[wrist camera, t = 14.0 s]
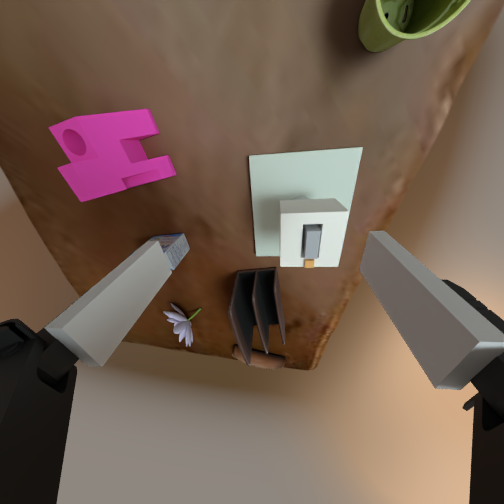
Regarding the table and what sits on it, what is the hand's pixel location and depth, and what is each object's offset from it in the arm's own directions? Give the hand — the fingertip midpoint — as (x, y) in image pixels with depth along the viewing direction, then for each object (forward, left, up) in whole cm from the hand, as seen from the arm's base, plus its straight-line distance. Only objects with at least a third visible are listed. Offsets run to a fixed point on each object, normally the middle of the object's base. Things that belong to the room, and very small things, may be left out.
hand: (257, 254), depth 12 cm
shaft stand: (+5, +6, -26) cm, 27 cm away
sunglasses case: (+58, -5, -27) cm, 64 cm away
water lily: (+36, -26, -26) cm, 51 cm away
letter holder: (+30, -2, -26) cm, 40 cm away
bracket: (-6, -24, -26) cm, 36 cm away
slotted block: (+5, +6, -18) cm, 20 cm away
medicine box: (+12, -23, -26) cm, 37 cm away
